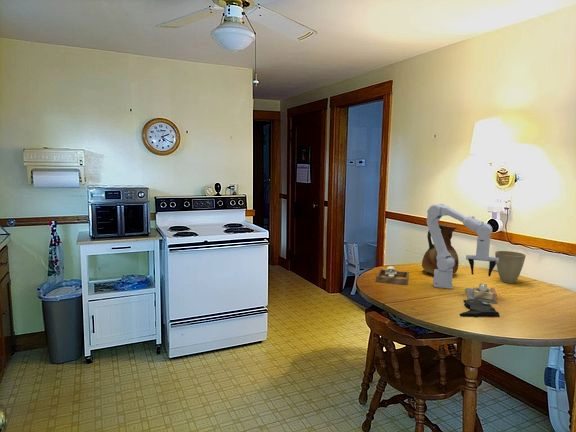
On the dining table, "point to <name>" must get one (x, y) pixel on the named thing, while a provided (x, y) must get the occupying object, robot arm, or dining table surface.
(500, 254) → the plant pot
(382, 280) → the coaster frame
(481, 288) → the peg
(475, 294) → the wooden square ring
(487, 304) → the stone slab
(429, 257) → the ceramic pitcher
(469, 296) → the board
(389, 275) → the skull
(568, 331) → the dining table surface
